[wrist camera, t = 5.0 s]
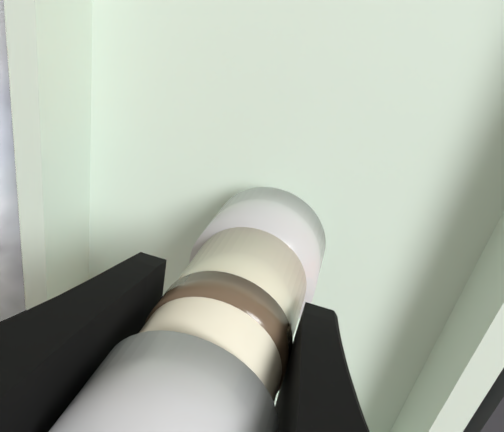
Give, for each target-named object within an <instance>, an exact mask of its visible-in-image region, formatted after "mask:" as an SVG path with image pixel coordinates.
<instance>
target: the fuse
mask: <svg viewBox="0 0 504 432" xmlns="http://www.w3.org/2000/svg"><path fill="white" fill-rule="evenodd" d="M325 248H326V239H325V233H324V229H323V226H322V224H321V221H320V220H319V218H318V216H317V215H316V213H315V212H314V211H313V209H312V208H311V207H310V206H309V205H308V204H307V203H305V202H304V201H303V200H302V199H300V198H299V197H297V196H296V195H294V194H292V193H290V192H287V191H284V190H282V189H278V188H273V187H255V188H250V189H246V190H243V191H241V192H239V193H237V194H236V195H234V196H233V197H231V198H230V199H229V200H228V201H227V202H226V203H225V204H224V206H223V207H222V208H221V209H220V211H219V212H218V213H217V215H216V216H215V217H214V219H213V220H212V221H211V222H210V224H209V225H208V226H207V228H206V229H205V230H204V231H203V233H202V234H201V235H200V237H199V238H198V239H197V241H196V242H195V244H194V246H193V248H192V251H191V255H190V260H189V265H188V267H187V268H186V269H185V271H184V272H183V273H182V275H181V276H180V277H179V279H178V280H177V281H176V282H174V283H173V284H172V285H171V286H170V287H169V289H168V290H167V291H166V292H165V294H164V295H163V296H162V298H161V299H160V300H159V302H158V303H157V304H156V306H155V307H154V309H153V310H152V311H151V313H150V314H149V316H148V317H147V319H146V322H145V324H144V326H143V328H142V329H141V331H140V332H139V333H137V334H135V335H132V336H129V337H127V338H125V339H124V340H122V341H121V342H119V343H118V344H117V345H116V346H115V347H114V348H113V349H112V350H111V351H110V353H109V354H108V355H107V357H106V358H105V359H104V360H103V362H102V363H101V364H100V366H99V367H98V368H97V370H96V371H95V372H94V373H93V375H92V376H91V377H90V379H89V380H88V381H87V382H86V384H85V385H84V386H83V388H82V389H81V390H80V391H79V393H78V394H77V395H76V397H75V398H74V399H73V400H72V402H71V403H70V404H69V406H68V407H67V408H66V410H65V411H64V412H63V413H62V415H61V416H60V417H59V419H58V420H57V421H56V422H55V424H54V425H53V426H52V428H51V429H50V430H49V431H48V432H278V415H277V410H276V407H275V404H274V402H275V398H276V395H277V393H278V391H279V390H280V388H281V385H282V383H283V380H284V376H285V373H286V369H287V366H288V362H289V359H290V355H291V351H292V346H293V335H294V332H295V329H296V325H297V322H298V319H299V318H300V317H301V315H302V312H303V309H304V305H305V302H308V303H311V302H312V299H313V296H314V292H315V289H316V285H317V281H318V277H319V273H320V269H321V266H322V262H323V258H324V254H325Z"/></svg>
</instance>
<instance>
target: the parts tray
mask: <svg viewBox="0 0 504 432" xmlns="http://www.w3.org/2000/svg"><path fill="white" fill-rule="evenodd" d="M4 13H5V28H6V42H7V56H8V70H9V84H10V98H11V112H12V126H13V140H14V154H15V168H16V182H17V196H18V210H19V224H20V238H21V252H22V266H23V280H24V294H25V308H26V310H28V309H30V308H32V307H34V306H37V305H39V304H41V303H43V302H45V301H47V300H50V299H52V298H54V297H56V296H58V295H60V294H62V293H64V292H66V291H68V290H70V289H72V288H74V287H76V286H78V285H80V284H82V283H83V282H85V281H87V280H89V279H91V278H93V277H95V276H97V275H99V274H100V273H102V272H104V271H106V270H108V269H110V268H111V267H113V266H115V265H117V264H119V263H121V262H123V261H125V260H126V259H128V258H130V257H132V256H134V255H136V254H138V253H140V252H143V253H146V254H149V255H153V256H156V257H159V258H162V259H166V260H167V261H166V270H165V278H164V287H163V295H164V294H165V292H166V291H167V290H168V289H169V287H170V286H171V285H172V284H173V283H174V282H176V281H177V280H178V279H179V277H180V276H181V275H182V273H183V272H184V271H185V269H186V268H187V267H188V265H189V260H190V255H191V251H192V248H193V246H194V244H195V242H196V241H197V239H198V238H199V237H200V235H201V234H202V233H203V231H204V230H205V229H206V228H207V226H208V225H209V224H210V222H211V221H212V220H213V219H214V217H215V216H216V215H217V213H218V212H219V211H220V209H221V208H222V207H223V206H224V204H225V203H226V202H227V201H228V200H229V199H230V198H231V197H233V196H234V195H236V194H237V193H239V192H241V191H243V190H246V189H250V188H255V187H273V188H278V189H282V190H284V191H287V192H290V193H292V194H294V195H296V196H297V197H299V198H300V199H302V200H303V201H304V202H305V203H307V204H308V205H309V206H310V207H311V208H312V209H313V211H314V212H315V213H316V215H317V216H318V218H319V220H320V221H321V224H322V226H323V229H324V233H325V239H326V248H325V254H324V258H323V262H322V266H321V269H320V273H319V277H318V281H317V285H316V289H315V292H314V296H313V299H312V302H311V304H314V305H318V306H321V307H324V308H327V309H331V310H334V311H335V313H336V315H337V316H338V324H339V330H340V335H341V340H342V345H343V349H344V353H345V357H346V361H347V364H348V368H349V372H350V375H351V378H352V381H353V385H354V388H355V391H356V394H357V397H358V401H359V404H360V406H361V409H362V412H363V415H364V418H365V421H366V423H367V426H368V428H369V431H370V432H463V431H464V429H465V428H466V426H467V424H468V423H469V421H470V420H471V418H472V417H473V415H474V413H475V412H476V410H477V409H478V407H479V406H480V404H481V402H482V401H483V399H484V398H485V396H486V395H487V393H488V392H489V390H490V388H491V387H492V385H493V384H494V382H495V381H496V379H497V377H498V376H499V374H500V373H501V371H502V370H503V368H504V0H4ZM300 318H301V317H300ZM300 318H299V319H298V322H297V325H296V329H295V332H294V335H293V341H294V337H295V334H296V331H297V328H298V325H299V321H300ZM278 393H279V391H278ZM278 393H277V395H276V398H275V402H274V404H275V405H276V401H277V397H278Z"/></svg>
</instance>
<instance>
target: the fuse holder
mask: <svg viewBox="0 0 504 432" xmlns="http://www.w3.org/2000/svg"><path fill="white" fill-rule="evenodd" d="M463 432H504V368H503V370H502V371H501V373H500V374H499V376H498V377H497V379H496V381H495V382H494V384H493V385H492V387H491V388H490V390H489V392H488V393H487V395H486V396H485V398H484V399H483V401H482V402H481V404H480V406H479V407H478V409H477V410H476V412H475V413H474V415H473V417H472V418H471V420H470V421H469V423H468V424H467V426H466V428H465V429H464V431H463Z"/></svg>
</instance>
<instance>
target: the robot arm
mask: <svg viewBox="0 0 504 432" xmlns="http://www.w3.org/2000/svg"><path fill="white" fill-rule="evenodd" d="M166 261H167V260H166V259H162V258H159V257H156V256H153V255H149V254H146V253H143V252H140V253H138V254H136V255H134V256H132V257H130V258H128V259H126V260H125V261H123V262H121V263H119V264H117V265H115V266H113V267H111V268H110V269H108V270H106V271H104V272H102V273H100V274H99V275H97V276H95V277H93V278H91V279H89V280H87V281H85V282H83V283H82V284H80V285H78V286H76V287H74V288H72V289H70V290H68V291H66V292H64V293H62V294H60V295H58V296H56V297H54V298H52V299H50V300H47V301H45V302H43V303H41V304H39V305H37V306H34V307H32V308H30V309H28V310H26V311H24V312H22V313H19V314H17V315H15V316H13V317H11V318H8V319H6V320H3V321H1V322H0V432H48V431H49V430H50V429H51V428H52V426H53V425H54V424H55V422H56V421H57V420H58V419H59V417H60V416H61V415H62V413H63V412H64V411H65V410H66V408H67V407H68V406H69V404H70V403H71V402H72V400H73V399H74V398H75V397H76V395H77V394H78V393H79V391H80V390H81V389H82V388H83V386H84V385H85V384H86V382H87V381H88V380H89V379H90V377H91V376H92V375H93V373H94V372H95V371H96V370H97V368H98V367H99V366H100V364H101V363H102V362H103V360H104V359H105V358H106V357H107V355H108V354H109V353H110V351H111V350H112V349H113V348H114V347H115V346H116V345H117V344H118V343H119V342H121V341H122V340H124V339H125V338H127V337H129V336H132V335H135V334H137V333H139V332H140V331H141V329H142V328H143V326H144V324H145V322H146V319H147V317H148V316H149V314H150V313H151V311H152V310H153V309H154V307H155V306H156V304H157V303H158V302H159V300H160V299H161V298H162V296H163V287H164V278H165V270H166ZM275 407H276V410H277V415H278V432H370V431H369V428H368V426H367V423H366V421H365V418H364V415H363V412H362V409H361V406H360V404H359V401H358V397H357V394H356V391H355V388H354V385H353V381H352V378H351V375H350V372H349V368H348V364H347V361H346V357H345V353H344V349H343V345H342V340H341V335H340V330H339V324H338V316H337V315H336V313H335V311H334V310H331V309H327V308H324V307H321V306H318V305H314V304H311V303H308V302H305V305H304V309H303V312H302V315H301V318H300V321H299V325H298V328H297V331H296V334H295V337H294V341H293V346H292V351H291V355H290V359H289V362H288V366H287V369H286V373H285V376H284V380H283V383H282V385H281V388H280V390H279V393H278V397H277V401H276V405H275Z"/></svg>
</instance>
